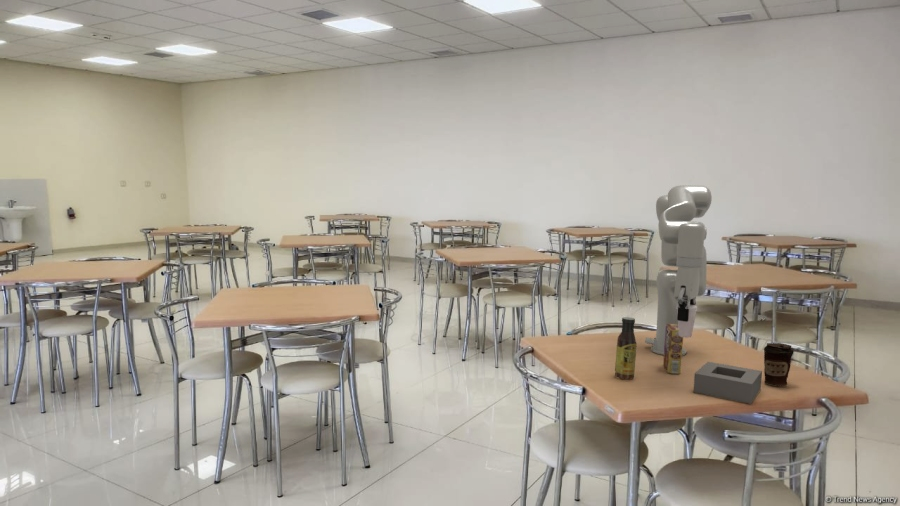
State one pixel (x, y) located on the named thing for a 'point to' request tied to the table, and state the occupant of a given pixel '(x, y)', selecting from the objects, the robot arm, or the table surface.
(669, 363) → the candy box
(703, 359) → the table surface
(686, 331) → the smoothie
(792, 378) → the table surface
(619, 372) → the sauce bottle
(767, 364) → the coffee cup
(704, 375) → the well block
